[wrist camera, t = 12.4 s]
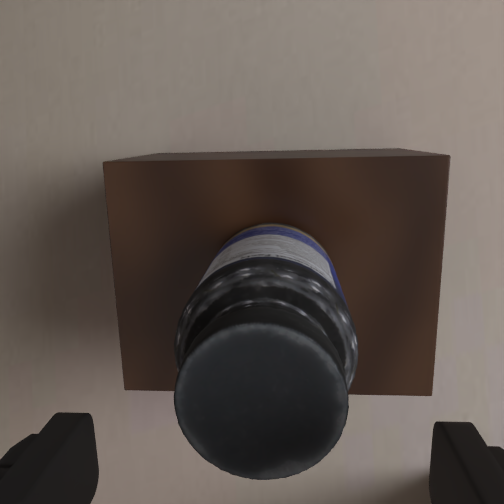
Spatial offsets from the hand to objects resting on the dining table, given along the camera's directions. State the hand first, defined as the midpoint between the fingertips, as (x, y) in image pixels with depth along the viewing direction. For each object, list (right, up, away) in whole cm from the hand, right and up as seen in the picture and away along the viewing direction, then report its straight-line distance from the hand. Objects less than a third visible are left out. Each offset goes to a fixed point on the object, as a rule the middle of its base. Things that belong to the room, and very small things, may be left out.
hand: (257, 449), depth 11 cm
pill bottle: (+1, +3, +12) cm, 13 cm away
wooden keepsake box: (+2, +6, +22) cm, 22 cm away
